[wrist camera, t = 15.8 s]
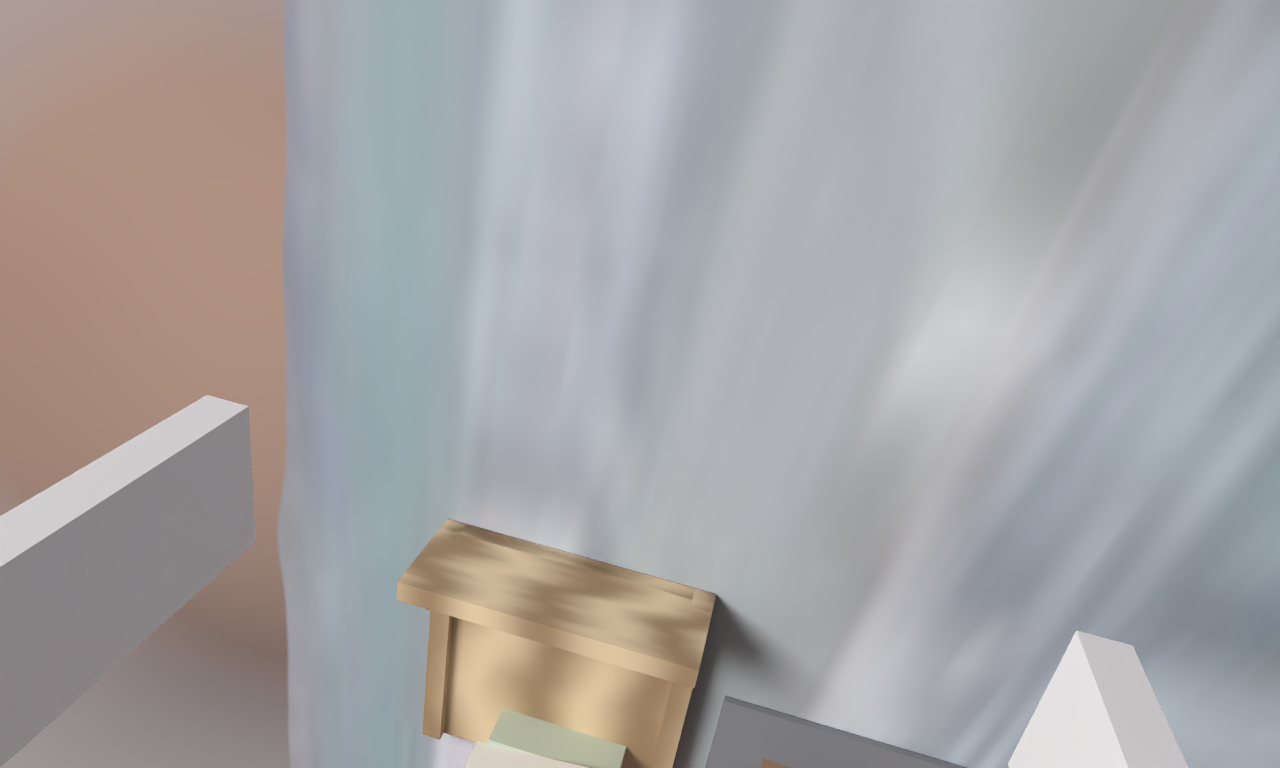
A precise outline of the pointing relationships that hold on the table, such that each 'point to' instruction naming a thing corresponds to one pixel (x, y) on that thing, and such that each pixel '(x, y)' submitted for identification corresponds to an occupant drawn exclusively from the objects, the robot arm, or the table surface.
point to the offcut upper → (510, 759)
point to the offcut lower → (554, 742)
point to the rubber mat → (799, 743)
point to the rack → (555, 642)
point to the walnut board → (771, 764)
